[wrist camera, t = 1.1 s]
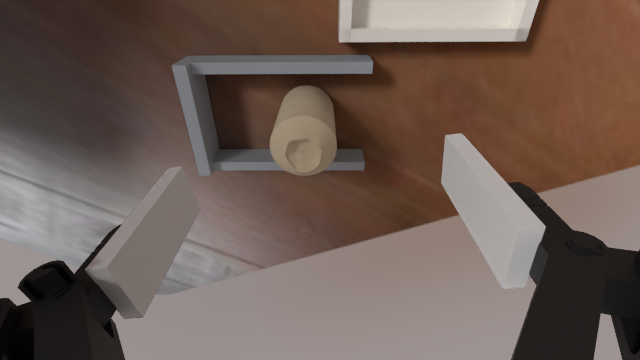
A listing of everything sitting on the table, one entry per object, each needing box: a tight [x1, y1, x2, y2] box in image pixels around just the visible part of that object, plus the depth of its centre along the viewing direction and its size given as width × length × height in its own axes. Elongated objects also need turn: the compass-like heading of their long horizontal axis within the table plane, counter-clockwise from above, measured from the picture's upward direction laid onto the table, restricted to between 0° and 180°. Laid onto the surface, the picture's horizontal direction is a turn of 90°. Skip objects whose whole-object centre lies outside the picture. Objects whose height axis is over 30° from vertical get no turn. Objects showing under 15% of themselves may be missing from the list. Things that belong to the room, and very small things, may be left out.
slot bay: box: [171, 55, 373, 176], centre depth 31 cm, size 17×11×4 cm, turn 90°
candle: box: [270, 85, 337, 176], centre depth 28 cm, size 6×6×10 cm
